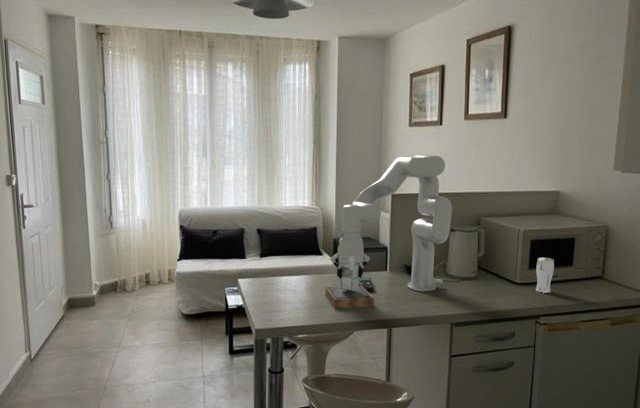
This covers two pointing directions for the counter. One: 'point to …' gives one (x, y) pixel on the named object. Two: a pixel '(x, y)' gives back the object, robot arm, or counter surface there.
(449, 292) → the counter surface
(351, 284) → the syrup box
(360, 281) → the disk drive
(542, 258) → the beer glass
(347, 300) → the stand
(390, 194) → the robot arm
